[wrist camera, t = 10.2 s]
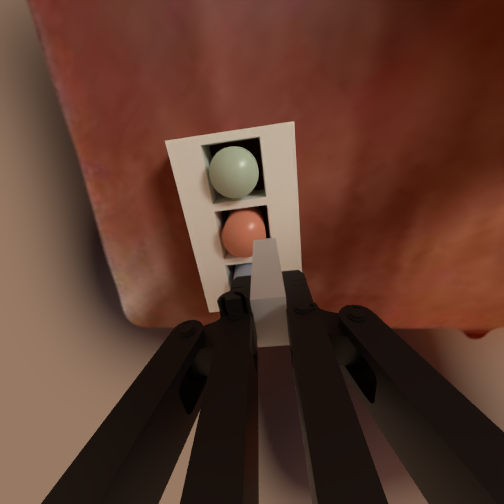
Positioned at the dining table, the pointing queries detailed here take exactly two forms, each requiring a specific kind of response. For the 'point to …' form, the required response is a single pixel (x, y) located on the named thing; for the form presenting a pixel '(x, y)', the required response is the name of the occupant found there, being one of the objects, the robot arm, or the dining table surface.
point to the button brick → (243, 230)
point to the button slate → (243, 269)
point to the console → (237, 201)
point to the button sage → (234, 172)
